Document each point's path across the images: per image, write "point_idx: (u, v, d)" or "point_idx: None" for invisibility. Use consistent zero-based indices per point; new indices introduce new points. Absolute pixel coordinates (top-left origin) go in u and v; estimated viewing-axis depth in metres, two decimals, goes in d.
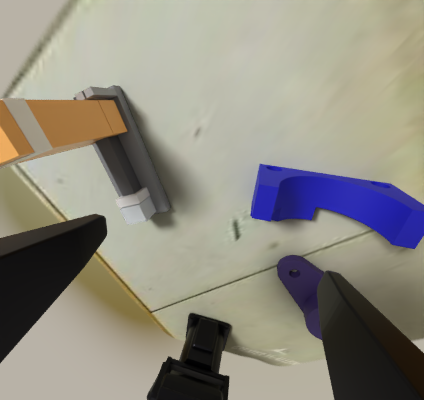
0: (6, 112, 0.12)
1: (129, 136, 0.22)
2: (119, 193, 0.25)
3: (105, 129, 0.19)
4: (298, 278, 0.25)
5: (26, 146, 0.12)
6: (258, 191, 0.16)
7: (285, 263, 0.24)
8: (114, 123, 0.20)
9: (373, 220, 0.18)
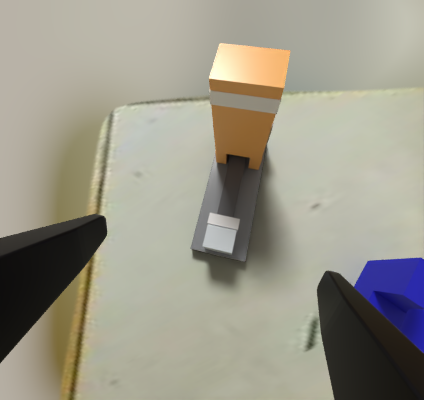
0: None
1: (255, 175, 0.23)
2: (201, 215, 0.22)
3: None
4: None
5: None
6: (418, 265, 0.15)
7: None
8: None
9: None
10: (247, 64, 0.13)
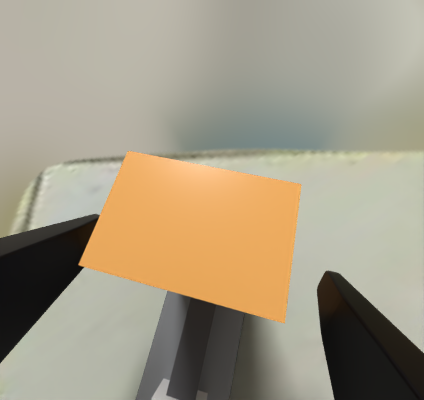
0: None
1: None
2: (148, 371, 0.13)
3: None
4: None
5: None
6: None
7: None
8: None
9: None
10: (186, 223, 0.05)
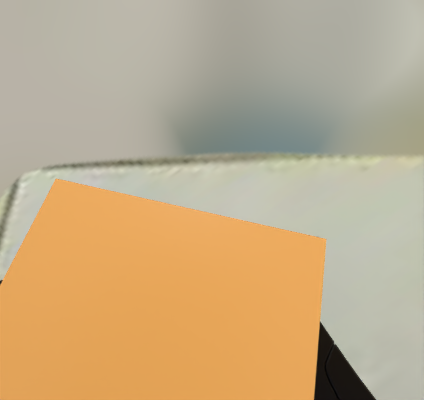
0: None
1: None
2: None
3: None
4: None
5: None
6: None
7: None
8: None
9: None
10: (136, 306, 0.03)
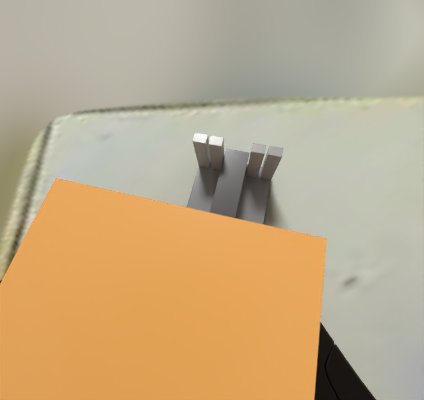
0: None
1: None
2: None
3: None
4: None
5: None
6: None
7: None
8: None
9: None
10: (136, 306, 0.03)
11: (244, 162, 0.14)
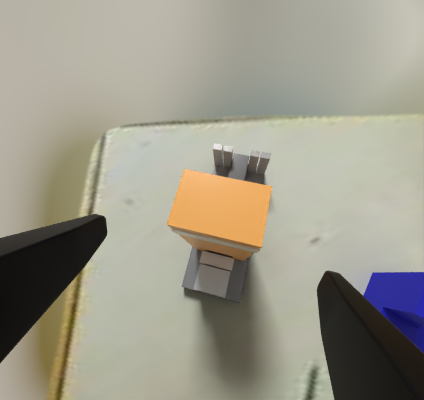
0: None
1: None
2: (194, 249, 0.20)
3: None
4: None
5: None
6: None
7: None
8: None
9: None
10: (216, 205, 0.10)
11: (246, 162, 0.21)
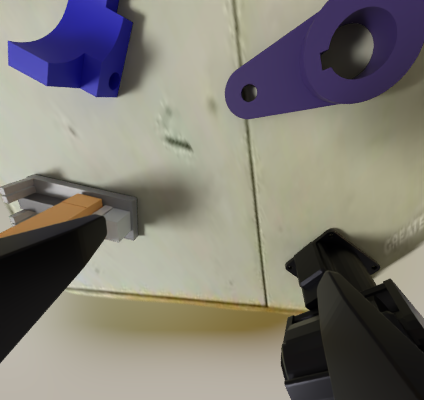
0: None
1: (61, 189, 0.25)
2: None
3: (77, 210, 0.21)
4: (260, 89, 0.16)
5: None
6: (16, 68, 0.15)
7: (227, 100, 0.17)
8: (84, 202, 0.23)
9: None
10: None
11: (23, 199, 0.25)
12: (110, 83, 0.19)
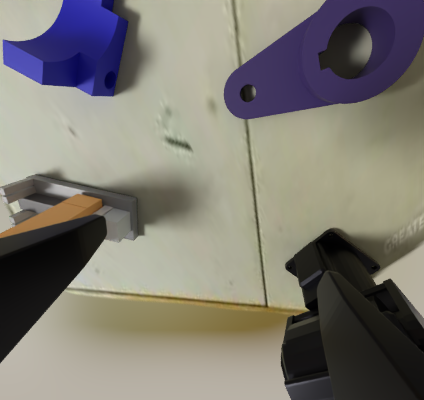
0: None
1: (61, 190, 0.25)
2: None
3: (76, 210, 0.21)
4: (259, 89, 0.16)
5: None
6: (11, 66, 0.15)
7: (226, 100, 0.17)
8: (84, 203, 0.23)
9: None
10: None
11: (23, 199, 0.25)
12: (106, 82, 0.19)
